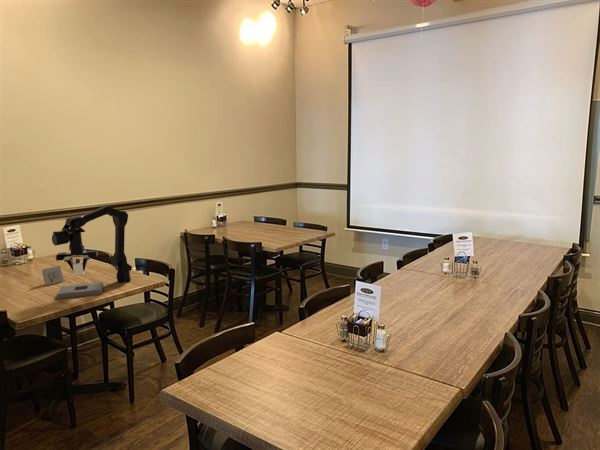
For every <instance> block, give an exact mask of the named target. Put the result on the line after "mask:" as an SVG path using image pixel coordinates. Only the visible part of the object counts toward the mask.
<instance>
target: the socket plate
mask: <svg viewBox="0 0 600 450" xmlns="http://www.w3.org/2000/svg"><path fill="white" fill-rule="evenodd" d="M104 286H105V285H104V282H103V281H102V282H93V283H91V282H90V283H80V284H72V285H63V286H61V287H60V289H59V291H58V292H57V294H56V296H57V300H58V299H59V300H60V299H71V298H81V297H87V296H97V295H101V294H102V292H103V290H104V288H105V287H104Z"/></svg>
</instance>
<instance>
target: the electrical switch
mask: <svg viewBox="0 0 600 450" xmlns="http://www.w3.org/2000/svg"><path fill="white" fill-rule="evenodd" d="M41 271H42V277H43V280H44V284H45V286H50V285H55V284H59V283H63V282H64V281H65V280H64V276H63V271H62V268H61V266H60V265H55V266H50V267H47V268H42V270H41Z"/></svg>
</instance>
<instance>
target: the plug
mask: <svg viewBox="0 0 600 450" xmlns="http://www.w3.org/2000/svg"><path fill="white" fill-rule="evenodd" d="M73 271H74V272H73ZM72 272H73V276H74V277H76V276H83V275H85V273H86V270H85V271H84V270H83V261H81V259H80V258H75V262H73V270H72Z"/></svg>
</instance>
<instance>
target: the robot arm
mask: <svg viewBox="0 0 600 450" xmlns="http://www.w3.org/2000/svg"><path fill="white" fill-rule="evenodd" d="M106 215H107V216H110V217H112V223H113V224H114V228H115V229H114V230H115V231H114V233H115V234H114V254H112V255H110V264H111V266H112V267H113V268H114V269H115V271H116V272H117V273H116V281H117V283H118V284H120V283H129V282H131V279H132V277H131V271H132V269H133V267H132V265H130V264H129V263H128V257H127V255H126V254H125V228H126V225H127V224H128V219H129V214H128V212H127V211H124V210H119V209H116V208H113V207H111V206H109V205H103V206H101V207H100V208H99V207H98V208H97V209H94V210H91V211H89V212H87V213H84V214H80V215H73V216H70V217H67V218H66V219H65V222H64V223H65V224H64V225H63V227H62V228H61V230H59V231H58V230H57V231H53V232H52V235H51V242H52V244H53V245H54V246H55V247H56V246H61V245H65V244H68V243H69V245H68V246H69V247H68V250H69V251H70V253H67V251H65V252H58V253H57V255H56V256H55V261H59V262H60V261H64V262H66V263H67V264H68V266H69V267H70V269H71V271H72V272H73V273H74V271H73V263H74V262H73V258H80V257H83V258H82V262H83V270H84V271H85V272H86V266H87V262H88V260H90V259H91V258H94V259H95V258H97V257H98V255H99V252H98V250H97V249H90V250H88V251H87V252H86V251H85V245H84V244H83V240H82V239H83V238H82V233H85V232H86V230H85V229H83V228H82V227H83V226H85V225H86V224H87V223H89V222H91V221H94V220H95V219H99V218H101V217H104V216H106Z"/></svg>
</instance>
